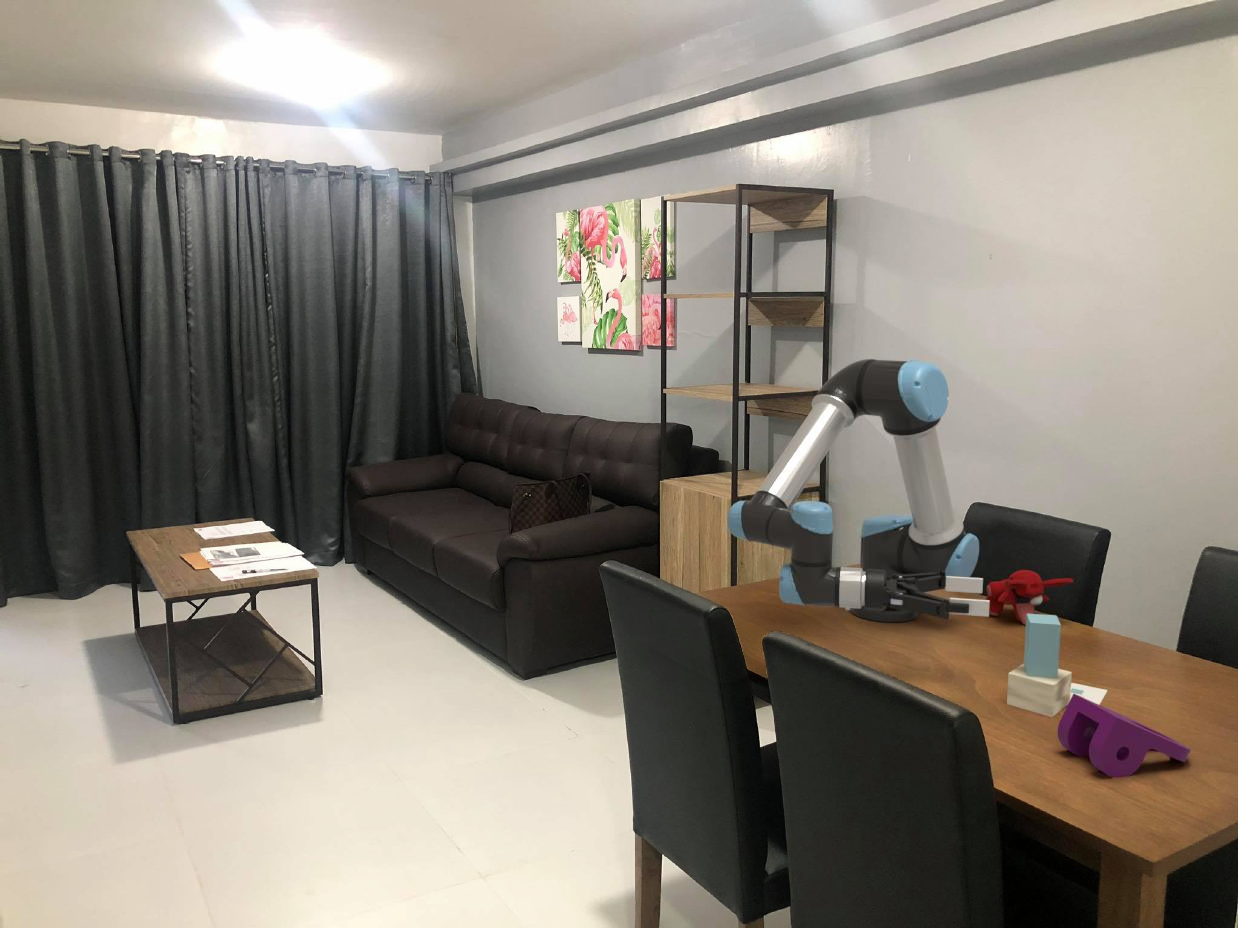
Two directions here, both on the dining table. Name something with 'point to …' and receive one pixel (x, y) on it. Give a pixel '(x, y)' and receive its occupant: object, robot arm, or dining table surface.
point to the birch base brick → (1039, 691)
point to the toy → (1020, 593)
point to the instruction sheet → (1088, 692)
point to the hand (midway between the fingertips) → (985, 596)
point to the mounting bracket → (1111, 738)
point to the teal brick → (1042, 645)
